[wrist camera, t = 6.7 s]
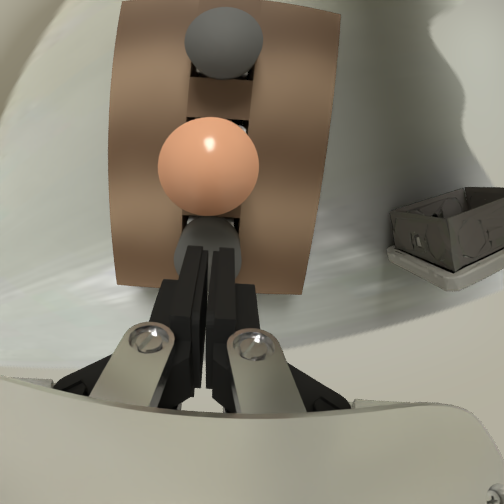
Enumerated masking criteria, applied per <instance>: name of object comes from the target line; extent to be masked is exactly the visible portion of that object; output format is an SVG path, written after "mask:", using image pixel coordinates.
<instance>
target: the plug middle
mask: <svg viewBox="0 0 504 504" xmlns="http://www.w3.org/2000/svg"><path fill="white" fill-rule="evenodd" d="M258 173H259V159H258V154H257V151H256V148H255V146H254V144H253V142H252V140H251V139H250V138H249V136H248V135H247V134H246V129H245V128H244V127H243V126H240V125H237V124H235V123H234V122H232V121H230V120H227V119H224V118H220V117H204V118H198V119H194V120H191V121H189V122H186V123H184V124H183V125H181V126H179V127H178V128H177V129H176V130H174V131H173V132H172V133H171V134H170V135H169V137H168V138H167V139H166V141H165V143H164V144H163V146H162V149H161V151H160V155H159V159H158V175H159V180H160V183H161V185H162V188H163V190H164V191H165V193H166V195H167V196H168V197H169V198H170V200H171V201H172V202H173V203H175V204H176V205H177V206H178V207H180V208H181V209H183V210H185V211H187V212H190V213H192V214H196V215H202V216H214V215H220V214H224V213H226V212H229V211H231V210H233V209H235V208H236V207H238V206H239V205H241V204H242V203H243V202H244V201H245V200H246V199H247V198H248V196H249V195H250V194H251V192H252V190H253V189H254V187H255V184H256V181H257V178H258Z"/></svg>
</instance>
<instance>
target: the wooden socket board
mask: <svg viewBox="0 0 504 504" xmlns="http://www.w3.org/2000/svg"><path fill="white" fill-rule="evenodd" d="M218 7H233V8H237V9H240V10H243V11H245V12H247V13H248V14H250V15H251V16H252V17H253V18H254V19H255V20H256V21H257V22H258V24H259V25H260V27H261V30H262V33H263V46H262V50H261V52H260V54H259V56H258V58H257V60H256V62H255V64H254V65H253V66H252V68H251V69H250V74H249V80H238V79H229V80H217V79H213V78H202V77H199V74H198V73H197V71H196V69H197V68H196V67H195V66H194V64H193V63H192V62H191V60H190V59H189V57H188V55H187V53H186V50H185V44H184V41H185V34H186V31H187V29H188V27H189V25H190V24H191V23H192V21H193V20H194V19H195V18H196V17H198V16H199V15H200V14H202V13H203V12H205V11H208V10H210V9H213V8H218ZM340 20H341V15H340V14H336V13H332V12H328V11H323V10H319V9H314V8H309V7H304V6H299V5H293V4H287V3H280V2H273V1H265V0H129V1H122V5H121V11H120V16H119V22H118V28H117V35H116V42H115V50H114V58H113V68H112V78H111V91H110V107H109V132H108V177H109V203H110V220H111V233H112V244H113V254H114V263H115V272H116V280H117V285H127V286H140V287H153V288H160V286H161V283H162V281H163V279H173V280H178V278H179V275H178V274H177V272H176V269H175V266H174V253H175V250H176V247H177V244H178V241H179V238H180V236H181V233H182V231H183V229H184V228H185V226H186V225H187V221H188V218H189V215H196V214H192V213H190V212H187V211H185V210H183V209H181V208H180V207H178V206H177V205H176V204H175V203H173V202H172V201H171V200H170V198H169V197H168V196H167V195H166V193H165V191H164V190H163V188H162V185H161V183H160V180H159V175H158V159H159V155H160V151H161V149H162V146H163V144H164V143H165V141H166V139H167V138H168V137H169V135H170V134H171V133H172V132H173V131H174V130H176V129H177V128H178V127H179V126H181V125H183V124H184V123H186V122H189V121H191V120H194V119H195V117H220V118H224V119H238V120H245V125H244V128H245V129H246V134H247V135H248V136H249V138H250V139H251V140H252V142H253V144H254V146H255V148H256V151H257V154H258V159H259V173H258V178H257V181H256V184H255V187H254V189H253V190H252V192H251V194H250V195H249V196H248V198H247V199H246V200H245V201H244V202H243V203H242V204H241V205H239V206H238V207H236V208H235V209H233V210H231V211H229V212H226V213H224V214H220V215H214V216H217V217H231V218H236V227H235V229H236V231H237V233H238V235H239V239H240V248H241V259H242V262H241V269H240V272H239V274H238V276H237V277H236V279H235V283H239V284H254V285H255V290H256V293H263V294H293V295H302V290H303V285H304V280H305V275H306V270H307V265H308V260H309V254H310V249H311V244H312V238H313V233H314V227H315V221H316V216H317V210H318V204H319V198H320V191H321V185H322V179H323V172H324V165H325V158H326V151H327V144H328V137H329V129H330V121H331V113H332V105H333V96H334V87H335V78H336V68H337V57H338V46H339V34H340ZM196 216H202V215H196Z"/></svg>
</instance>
